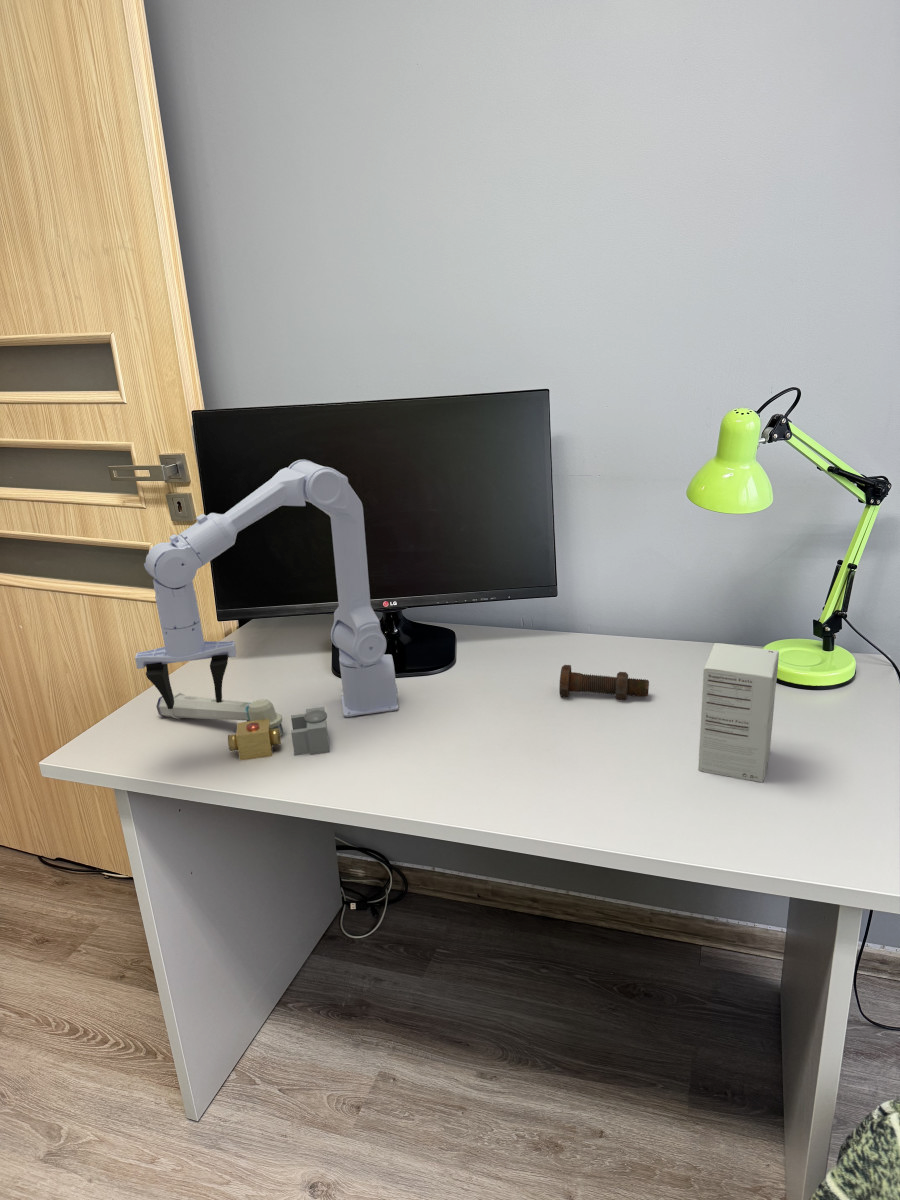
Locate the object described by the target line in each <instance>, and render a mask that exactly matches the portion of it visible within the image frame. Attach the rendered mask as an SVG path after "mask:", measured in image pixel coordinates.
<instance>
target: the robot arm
mask: <svg viewBox="0 0 900 1200" xmlns="http://www.w3.org/2000/svg"><path fill="white" fill-rule="evenodd" d="M306 502H308V503H310V504H312V505H313V506H315V507H316V508H318V509H319V510H321V511H323V512H324V513H325V514H326V515H328V516H329V517H330V525H331V535H332V547H333V548H332V549H333V557H334V558H333V559H334V569H335V579H336V590H337V599H338V600H337V601H338V606H337V608H336V609H335V610H334V612H333V618H334V619H333V624H332V627H331V631H330V639H331V643H332V644H333V645H334V646H335V648H336V649H338V653H339V657H338V660H339V670H340V676H341V678H340V679H341V686H342V694H341V695H340V697H341V698H340V699H341V706H342V714H343V717H344V718H348V717H354V716H356V717H357V716H363V715H370V714H379V713H383V712H391V711H398V710H399V705H398V686H397V681H396V671H395V664H394V659H393V655H392V654H389V653H388V654H385V653H386V650H387V639H386V636H385V635H384V634H383V631H382V630H381V629H382V628H381V622H380V620H379V618H378V616H377V614H376V612H375V611H374V609H373V607H372V605H371V594H370V593H371V592H370V581H369V580H370V579H369V570H368V569H369V568H368V554H367V544H366V531H365V517H364V506H363V503H362V501H361V499H360V498H359V496H358V494H356V491H354V489H353V488H352V486H351V484H350V483H349V478H348V477H347V476H346V475H345V474H343V473H341V472H340V471H338V470H337V469H334V468H333V467H329V466H323V465H320V464H317V463H315V462H313V461H311V460H308V459H298V460H296V461H293V462H292V463H291V464H290V465H289V466H288V467H284V468H281V469H279V470H278V472H276V473H275V474H274V475H273V476H272V478H270V479H269V480H268V481H266V482H265V483H263V484H262V485H261V486H259V487H258V488H257V489H255V490H254V491H253V492H251V493H250V494H249V495H247V496H246V497H245V498H243V499H242V500H240V501H239V502H238V503H236V504H235V505H234V506H233V507H231V508H230V509H229V510H227V511H226V512H225V513H217V512H210V513H209V514H207V515H206V514H204V513H201V514H200V515H198V516H196V518H195V519H196V522H195V523H194V524H192V525H190V526H189V527H188V528H187V529H185V530H183V531H181V532H180V533H178V534H177V535H176V534H171V536H169V537H168V539H169V541H170V542H169V541H166V542H163V541H162V542H160V543H156V544H155V545H154V546H152V547H151V548H150V549H149V551H148V554H146V557H145V562H144V563H143V566H144V569H145V571H146V572H147V573H148V574H149V575H150V576H151V577H152V578H153V579H152V583H153V589H154V593H155V596H154V597H155V598H154V599H155V604H156V610H157V613H158V614H157V615H158V619H159V624H160V628H161V629H160V630H161V634H162V640H163V644H164V646H160V647H158V648H154V649H149V650H144V651H139V652H136V654H135V657H134V660H135V663H136V664H135V666H136V669H137V670H139V669H141V670H142V669H146V672H145V676H146V677H147V680H149V681H150V683H152V685H153V686H154V687H155V688H156V690H158V692H159V693H160V696H161V697H163V699H164V701H165V703H166V705H167V707H168V709H173V706H174V697H173V695H174V694H173V689H172V686H171V682H170V674H169V667H168V664H174V663H182V662H184V663H186V662H190V661H191V662H192V661H198V660H207V659H211V660H210V663H209V669H210V673H211V677H212V681H213V687H214V696H215V699H216V702H217V703H220V702H221V701H222V700H223V679H224V676H225V673H226V670H227V666H228V660H229V658H235V657H236V656H237V648H236V641H235V640H227V641H226V640H225V641H220V640H219V641H218V640H217V641H211V640H210V641H209V640H205V639H204V634H203V629H202V628H203V627H202V621H201V616H200V612H199V607H198V605H199V604H198V600H197V594H196V593H197V592H196V589H195V587H194V579H195V577H196V576H197V575H196V574H197V571H198V569H201V568H203V566H205V565H207V564H208V563H210V562H211V561H213V559H215V558H217V557H218V556H220V555H221V554H222V553H224V552H226V551H227V550H228V549H229V548H231V547H233V546H234V545H235V543H236V539H237V535H238V533H239V532H241V531H242V530H244V529H246V528H247V527H248V526H251V525H253V524H254V523H255V522H257V521H259V520H260V519H263V517H265V516H267V515H268V514H270V513H271V512H274V511H275V510H276V509H279V507H283V506H287V507H306V505H307V504H306Z"/></svg>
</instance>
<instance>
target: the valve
mask: <svg viewBox="0 0 900 1200" xmlns="http://www.w3.org/2000/svg"><path fill="white" fill-rule="evenodd" d="M236 724H237V725H236V733H234V734H228V735H227V742H228V743H227V745H228V750H229V752H235V751H238V755H239V761H240V762H241V761H247V760H254V759H255V760H256V759H261V758H267V757H269V758H270V757H273V747H274V746H279V745H282V737H281V736H282V734H281V735H280V729H279V728H276V729H271V728H270V721H269V719H263V720H255V721H248V722H246V721H242V722H237V723H236Z"/></svg>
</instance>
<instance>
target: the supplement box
mask: <svg viewBox="0 0 900 1200" xmlns="http://www.w3.org/2000/svg"><path fill="white" fill-rule="evenodd" d="M779 657H780V651H779V650H775V649H774V650H773V649H768V648H767V649H766V648H760V647H750V646H743V645H734V644H727V643H719V642H718V643H717V642H715V643H713V646H712V648H711V651H710V654H709V657H708V658H707V661H706V663H705V666H704V668H703V678H702V696H701V712H700V713H701V715H700V716H701V717H700V733H699V734H700V735H699V748H698V749H699V753H698V769H697V770H698V772H699V771H700V772H704V773H709V774H715V775H721V776H726V777H730V778H736V779H741V780H747V781H751V782H757V783H764V781H765V777H766V774H767V773H766V772H767V768H768V763H769V758H770V754H771V743H772V733H773V724H774V723H773V721H774V711H775V709H774V708H775V699H776V687H777V679H778V671H779V670H778V669H779Z"/></svg>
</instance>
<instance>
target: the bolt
mask: <svg viewBox="0 0 900 1200" xmlns="http://www.w3.org/2000/svg"><path fill="white" fill-rule="evenodd" d="M649 689H650V681H649V680H648V679H646V678H645V679H644V678H643V679H642V678H632V677H629V674H628V672H626V671H619V672H617V674H616V676H610V675H601V674H600V675H599V674H591V673H590V674H587V673H584V674H583V673H581V672H576V671H575V672H573V671H572V665H571V664H563V665H562V666H561V669H560V675H559V690H558V691H559V696H560V697H561V698H567V699H568V698H569V697H570V693H593V694H594V693H595V694H598V695H599V694H603V695H604V694H605V695H613V696H614V695H615V699H616V701H626V700H627V699H628V697H638V698H646V697H648V696H649Z"/></svg>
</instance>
